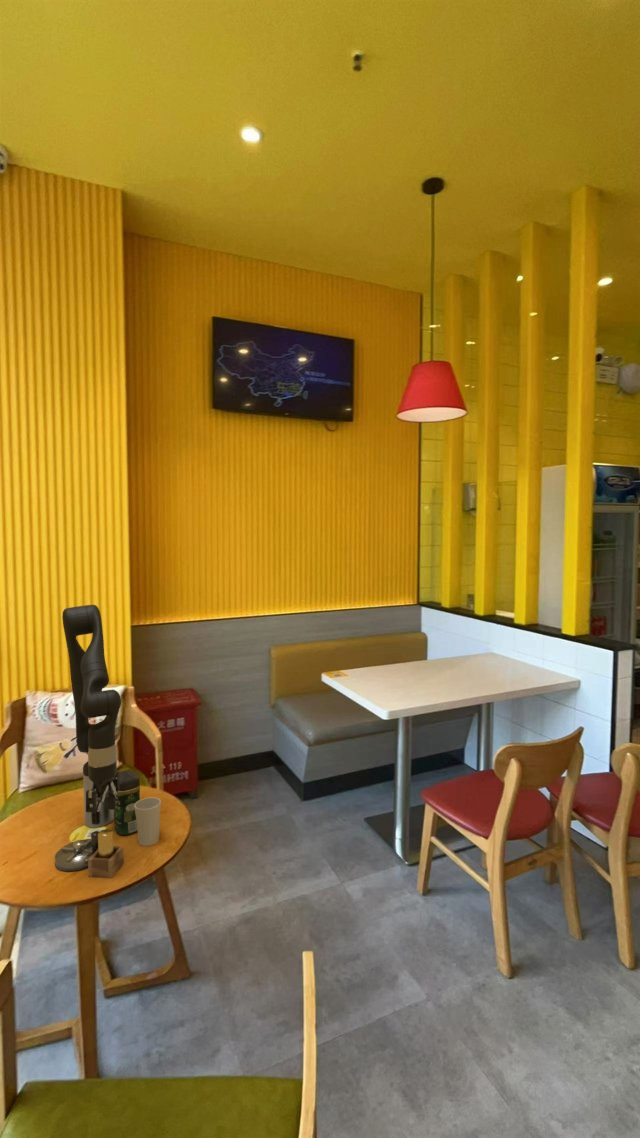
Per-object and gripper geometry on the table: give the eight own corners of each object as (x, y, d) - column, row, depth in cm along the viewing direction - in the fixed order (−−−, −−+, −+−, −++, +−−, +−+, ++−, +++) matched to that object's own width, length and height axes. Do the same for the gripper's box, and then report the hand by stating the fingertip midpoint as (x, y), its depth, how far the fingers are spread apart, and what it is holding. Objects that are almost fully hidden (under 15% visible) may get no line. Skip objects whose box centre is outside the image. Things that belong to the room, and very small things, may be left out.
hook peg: (103, 865, 156) (102, 828, 155) (116, 866, 155) (115, 829, 155) (96, 873, 152) (95, 836, 151) (109, 874, 151) (108, 836, 151)
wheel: (45, 868, 154) (44, 841, 153) (73, 843, 167) (72, 818, 166) (86, 873, 151) (85, 845, 151) (112, 847, 164) (111, 822, 164)
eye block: (101, 862, 157) (100, 845, 157) (124, 863, 156) (123, 846, 156) (88, 876, 150) (88, 859, 150) (112, 878, 149) (111, 860, 149)
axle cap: (77, 845, 161) (77, 839, 160) (86, 846, 160) (86, 839, 160) (71, 851, 158) (71, 845, 157) (81, 851, 157) (80, 845, 157)
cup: (131, 840, 169) (129, 803, 168) (154, 830, 174) (153, 794, 174) (142, 850, 163) (141, 812, 162) (166, 840, 169) (165, 803, 168)
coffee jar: (111, 826, 177) (109, 771, 176) (135, 818, 182) (133, 765, 181) (119, 839, 169) (117, 782, 169) (144, 831, 174) (142, 775, 173)
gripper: (103, 750, 159) (104, 804, 160) (75, 770, 145) (77, 828, 146) (126, 751, 159) (128, 805, 159) (101, 771, 144) (103, 829, 145)
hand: (104, 816), depth 152 cm, fingers open, 8 cm apart
